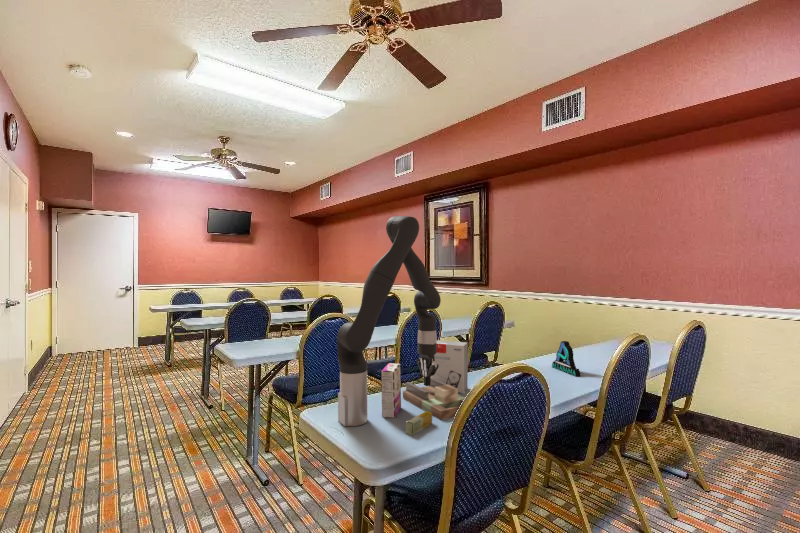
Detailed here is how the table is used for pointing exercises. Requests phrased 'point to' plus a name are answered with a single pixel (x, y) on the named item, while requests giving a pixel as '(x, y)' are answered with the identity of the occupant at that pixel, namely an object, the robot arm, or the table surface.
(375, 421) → the table surface
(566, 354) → the decorative sign
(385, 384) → the candy bar box
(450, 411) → the corridor deck
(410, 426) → the medication box
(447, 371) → the hard drive box
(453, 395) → the ash block
